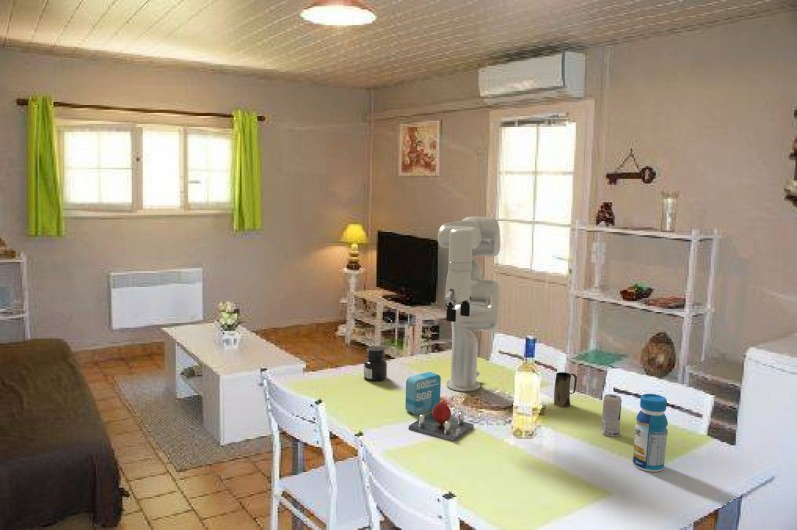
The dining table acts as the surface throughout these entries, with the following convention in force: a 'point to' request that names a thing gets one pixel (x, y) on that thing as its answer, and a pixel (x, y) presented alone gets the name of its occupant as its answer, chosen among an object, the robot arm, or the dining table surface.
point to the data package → (422, 392)
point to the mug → (563, 389)
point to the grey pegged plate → (442, 427)
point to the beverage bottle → (650, 433)
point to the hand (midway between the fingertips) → (458, 318)
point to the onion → (441, 412)
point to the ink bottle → (375, 364)
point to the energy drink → (611, 415)
